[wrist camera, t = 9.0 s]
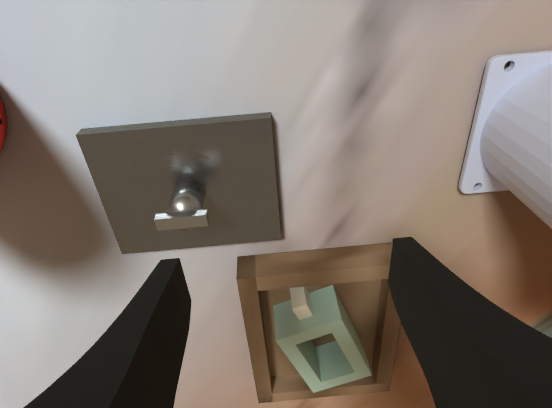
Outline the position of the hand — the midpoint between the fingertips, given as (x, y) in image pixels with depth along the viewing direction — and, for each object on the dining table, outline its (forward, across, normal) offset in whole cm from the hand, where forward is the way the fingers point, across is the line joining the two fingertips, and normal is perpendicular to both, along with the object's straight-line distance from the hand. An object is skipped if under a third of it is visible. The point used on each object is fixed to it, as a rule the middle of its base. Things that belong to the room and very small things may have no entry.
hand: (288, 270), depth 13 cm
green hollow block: (+9, -2, +15) cm, 18 cm away
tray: (+10, -2, +15) cm, 18 cm away
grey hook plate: (+10, +5, +2) cm, 11 cm away
